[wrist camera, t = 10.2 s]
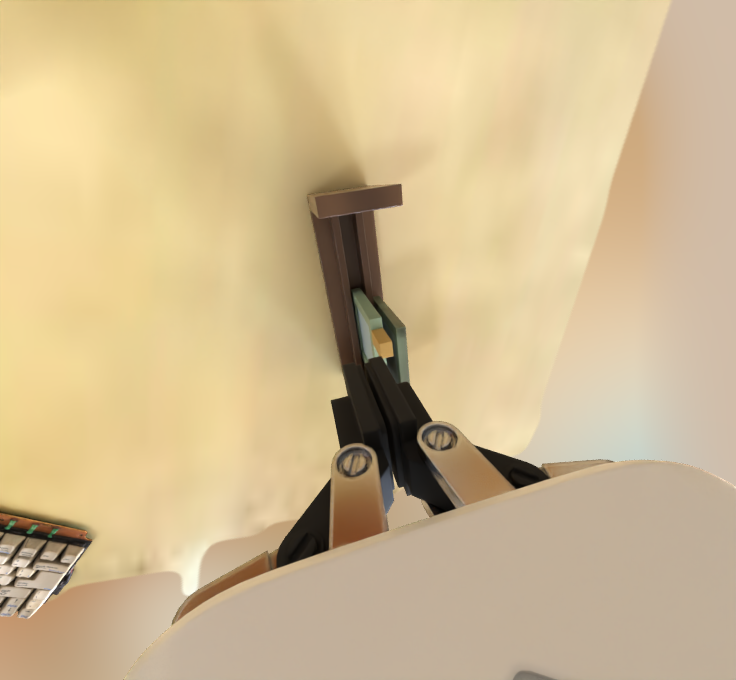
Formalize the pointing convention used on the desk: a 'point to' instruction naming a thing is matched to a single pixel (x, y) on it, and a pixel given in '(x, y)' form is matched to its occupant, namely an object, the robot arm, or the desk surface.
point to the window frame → (356, 266)
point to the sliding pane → (370, 329)
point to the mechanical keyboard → (35, 562)
